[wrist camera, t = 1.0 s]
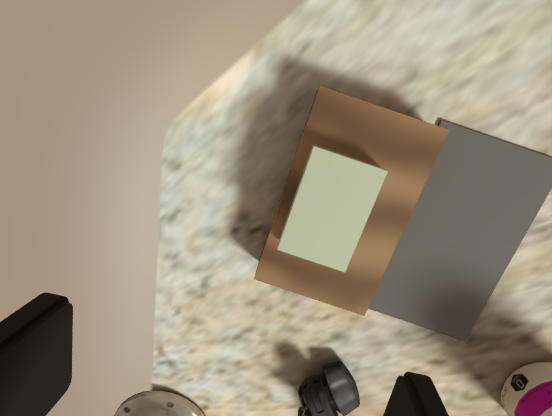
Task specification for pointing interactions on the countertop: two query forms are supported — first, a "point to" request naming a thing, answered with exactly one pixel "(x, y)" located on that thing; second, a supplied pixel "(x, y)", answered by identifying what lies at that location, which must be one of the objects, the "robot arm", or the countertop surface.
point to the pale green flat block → (330, 208)
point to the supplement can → (529, 391)
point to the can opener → (329, 393)
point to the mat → (463, 231)
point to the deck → (386, 210)
